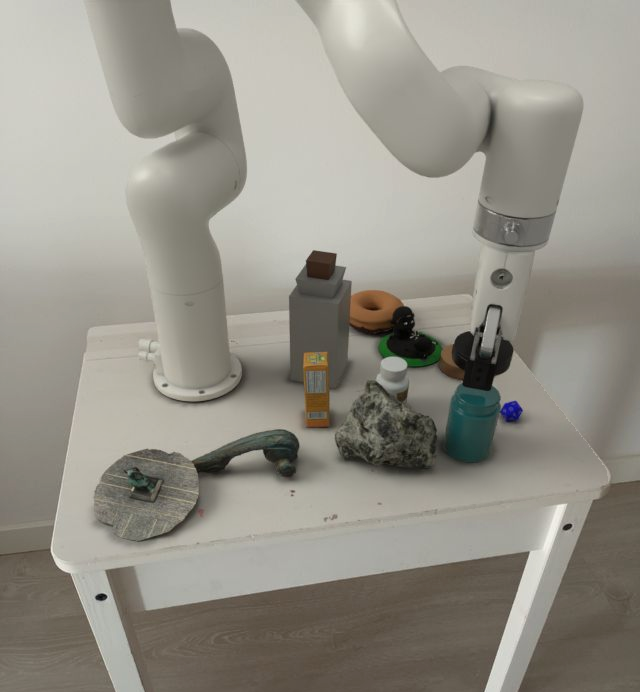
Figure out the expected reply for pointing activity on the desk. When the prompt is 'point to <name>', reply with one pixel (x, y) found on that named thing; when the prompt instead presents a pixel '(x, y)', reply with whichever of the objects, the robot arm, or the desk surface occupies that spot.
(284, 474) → the decorative handle
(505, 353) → the lid
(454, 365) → the brown round disc
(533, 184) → the robot arm
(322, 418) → the supplement box
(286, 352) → the desk surface
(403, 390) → the pill bottle
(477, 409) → the jar
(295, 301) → the perfume bottle
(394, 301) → the donut
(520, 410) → the die
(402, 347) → the toy figurine
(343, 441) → the rock
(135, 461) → the sculpture
